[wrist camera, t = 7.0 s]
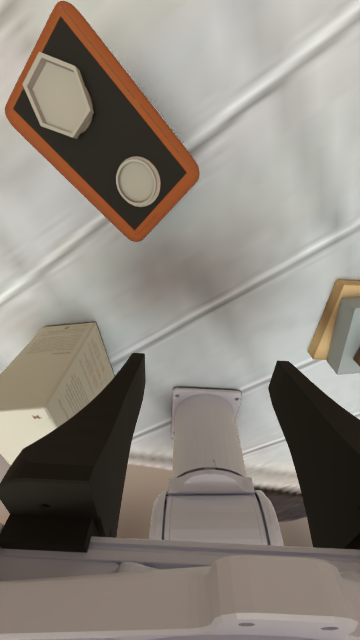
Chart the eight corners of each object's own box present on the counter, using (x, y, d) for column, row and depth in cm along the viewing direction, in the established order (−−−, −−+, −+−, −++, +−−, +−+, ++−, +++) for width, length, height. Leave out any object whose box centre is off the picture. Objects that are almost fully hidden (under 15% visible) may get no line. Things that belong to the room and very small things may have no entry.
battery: (124, 83, 15) (42, -42, 6) (197, 175, 17) (207, 172, 9) (84, 143, 17) (-25, 106, 8) (156, 219, 19) (130, 254, 10)
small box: (44, 324, 24) (-41, 411, 15) (97, 320, 24) (43, 406, 15) (70, 382, 28) (16, 478, 19) (116, 379, 28) (83, 475, 19)
